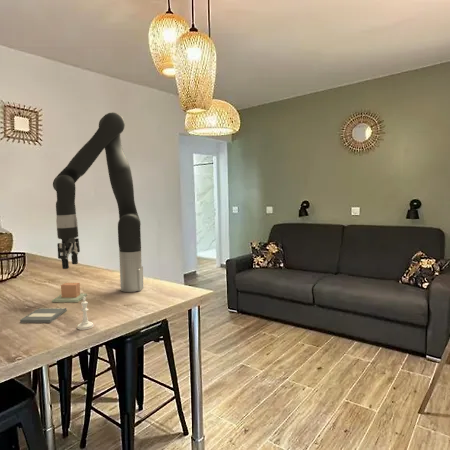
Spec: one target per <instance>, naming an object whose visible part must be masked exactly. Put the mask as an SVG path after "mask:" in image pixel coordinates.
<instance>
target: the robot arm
mask: <svg viewBox="0 0 450 450" xmlns="http://www.w3.org/2000/svg"><path fill="white" fill-rule="evenodd" d="M125 124H126V123H125V120H124V118H123V116H122V115H121V114H119V113H117V112H114V111H113V112H108V113H106V114H104V116H102V117H101V118H100V120H99V122H98V127H97V130H96V131H95V132H94V134H93V135H92V136H91V138H90V139H89V140H88V141H87V142H86V143H85V144H83V146H82V147H81V148H80V149H79V150H78V151H77V152H76V154H75V155H73V157H72V158H71V159H70V161H69V162H68V164H67V165H66V166H65V167H64V168H63V169H62V170H61V171H60V172H59V173H58V175H57V176H55V178H54V180H53V182H52V187H53V189H54V190H55V193H56V202H55V213H56V215H55V216H56V218H55V219H56V231H57V233H56V234H57V239H58V240H61V242H58V243H57V246H56V247H57V258H58V259H59V260H61V266H62V269H63V270H68V269H69V266H70V265H69V264H70V263H69V256H71V264H72V265H77V264H78V263H79V260H78V255H79V253H80V252H81V250H80V249H81V248H80V241H79V240H80V239H79V228H78V218H77V212H76V211H77V210H76V209H77V208H76V202H75V201H76V183H77V181H78V180H79V179H80V178H82V176H84V175H85V174H86V173H87V172H88V170H89V169H90V168H91V167H92V165H93V163H94V162H96V160H97V159H98V157H99V155H101V153H102V152H103V151H105V159H106V165H107V172H108V177H109V183H110V186H111V189H112V193H113V194H114V195H113V196H114V198H115V200H116V203H117V208H118V218H119V219H118V222H117V237H118V238H117V239H118V240H117V241H118V252H119V253H118V255H119V256H118V257H119V284H120V285H119V286H120V292H124V293H133V292H140V291H142V290H143V289H144V266H142V265H143V264H142V240H141V239H142V238H141V237H142V236H141V234H142V233H141V232H142V231H141V225H142V224H141V220H140V217H139V213H138V211H137V206H136V203H135V191H134V181H133V176H132V169H131V167H130V163H129V160H128V159H127V157H126V155H125V153H124V149H123V147H122V146H123V145H122V139H121V134H122V133H123V132H124V130H125V126H126V125H125Z"/></svg>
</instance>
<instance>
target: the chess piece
mask: <svg viewBox="0 0 450 450" xmlns="http://www.w3.org/2000/svg"><path fill="white" fill-rule="evenodd" d="M86 300H87V297H86V296H83V299H82V301H81V303H80V305H81V307H82V308H81V309H80V311H81V312H82V321H81V322H80V323H78V324H77V326H76V329H78V330H79V331H82V330H85V331H86V330H89V329H90V330H91V329H92V328H93V327H94V326H95V325H94V323H93V322H92V321H90V320H88V318H89V317H88V314H87V313H88V312H87V311H89V308H87V307H88V303H89V302H88V301H86Z"/></svg>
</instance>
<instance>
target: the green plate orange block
mask: <svg viewBox="0 0 450 450" xmlns="http://www.w3.org/2000/svg"><path fill="white" fill-rule="evenodd" d="M80 286H81V283H80V282H64V283H62V284H60V291H61V292H60V294H59V295H58V296H57V297H55V298H53V299H52V301H51V302H52V303H79V302H80V301H81V300H83V296H85V297H87V296H88V294H87V293H84V292H83V293H81V287H80Z"/></svg>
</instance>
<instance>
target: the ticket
mask: <svg viewBox="0 0 450 450" xmlns="http://www.w3.org/2000/svg"><path fill="white" fill-rule="evenodd" d="M67 311H68V310H67V307H39V308H37V309H35V310H34V311H32V312H30V313H29V314H27V315H26V316H24V317H22V318H21V319H20V320H19V321H20V323H22V324H23V323H24V324H25V323H26V324H27V323H28V324H32V323H33V324H34V323H36V324H41V323H42V324H44V323H45V324H47V323H48V324H51V323H52V322H54V321H55V320H56V319H58V318H59V317H60V316H61V315H62V316H63V314H65V313H66V312H67Z"/></svg>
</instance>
